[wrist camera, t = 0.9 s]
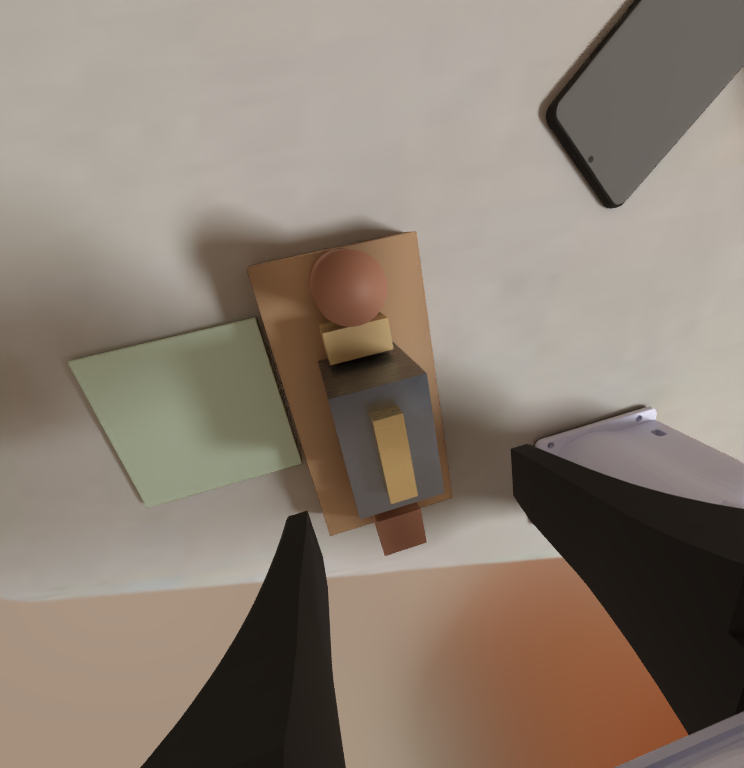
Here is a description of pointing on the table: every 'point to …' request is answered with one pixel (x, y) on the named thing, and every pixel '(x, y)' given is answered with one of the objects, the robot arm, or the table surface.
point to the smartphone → (646, 89)
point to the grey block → (384, 429)
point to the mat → (191, 410)
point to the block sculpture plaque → (347, 356)
